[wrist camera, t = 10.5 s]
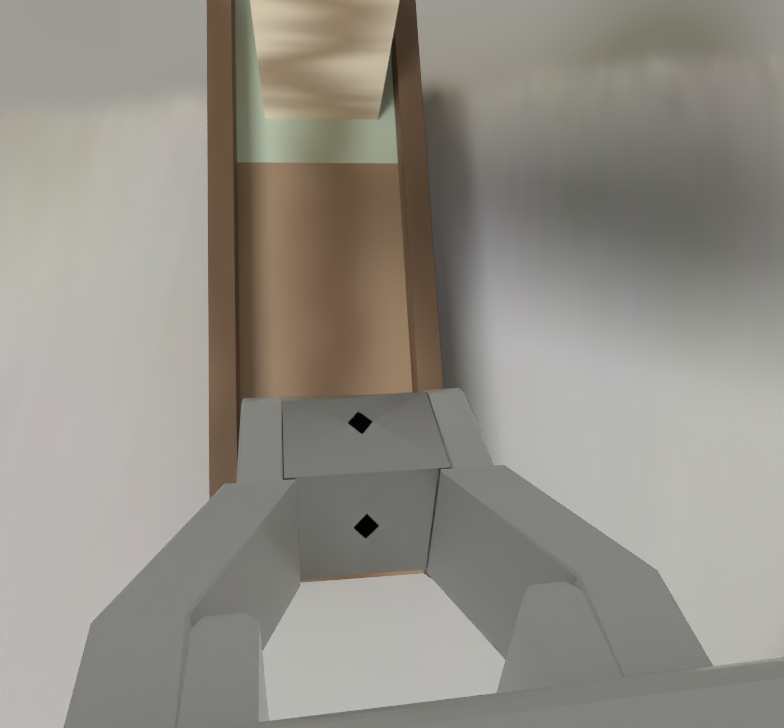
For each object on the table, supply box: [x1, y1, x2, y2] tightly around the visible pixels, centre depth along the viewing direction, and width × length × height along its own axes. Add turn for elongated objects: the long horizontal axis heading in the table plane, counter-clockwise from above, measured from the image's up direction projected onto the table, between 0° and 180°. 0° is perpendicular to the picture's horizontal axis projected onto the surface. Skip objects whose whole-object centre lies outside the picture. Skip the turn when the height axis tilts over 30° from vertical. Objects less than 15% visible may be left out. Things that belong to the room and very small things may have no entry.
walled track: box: [207, 0, 443, 582], centre depth 28 cm, size 9×26×4 cm, turn 3°
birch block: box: [250, 0, 399, 120], centre depth 25 cm, size 5×5×8 cm
